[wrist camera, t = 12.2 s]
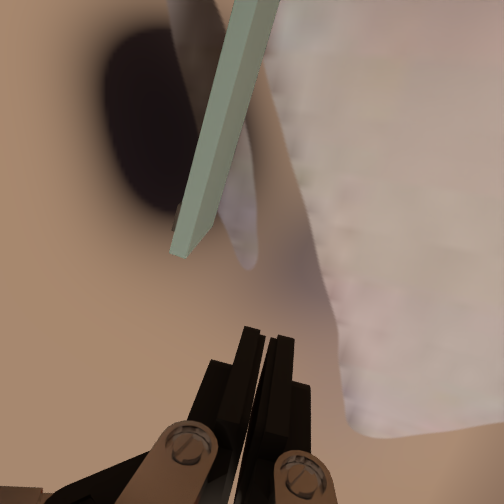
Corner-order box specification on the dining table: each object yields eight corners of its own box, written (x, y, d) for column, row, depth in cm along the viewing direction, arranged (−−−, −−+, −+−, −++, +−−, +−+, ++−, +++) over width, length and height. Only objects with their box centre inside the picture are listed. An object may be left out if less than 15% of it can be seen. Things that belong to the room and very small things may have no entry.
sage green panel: (212, 226, 33) (185, 259, 26) (193, 219, 33) (160, 250, 26) (306, -89, 25) (306, -174, 17) (280, -98, 25) (269, -186, 17)
